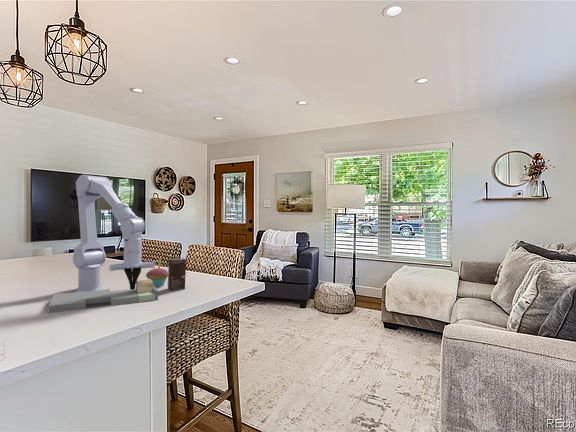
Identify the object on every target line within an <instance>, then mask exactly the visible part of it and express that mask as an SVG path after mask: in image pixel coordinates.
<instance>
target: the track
mask: <svg viewBox="0 0 576 432" xmlns="http://www.w3.org/2000/svg"><path fill="white" fill-rule="evenodd" d="M157 288H158V287H155V286H154V284H153V291H151V292H141V293H137V291H136V286H135V289H134V290H130V288H129V289H120V290H119V289H118V290H110V288H108V289H102V290H95V291H84V292H77V291H74V292H65V293H56V294H54V295H53V296H52V299H51V300H50V302H49V304H48V308H47V309H48V313H57V312H65V311H74V310H82V309H89V308H91V309H92V308H100V307H106V306H115V305H116V306H117V305H123V304H132V303H141V302H142V303H144V302H149V301H158V300H159V290H158V289H157Z"/></svg>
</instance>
